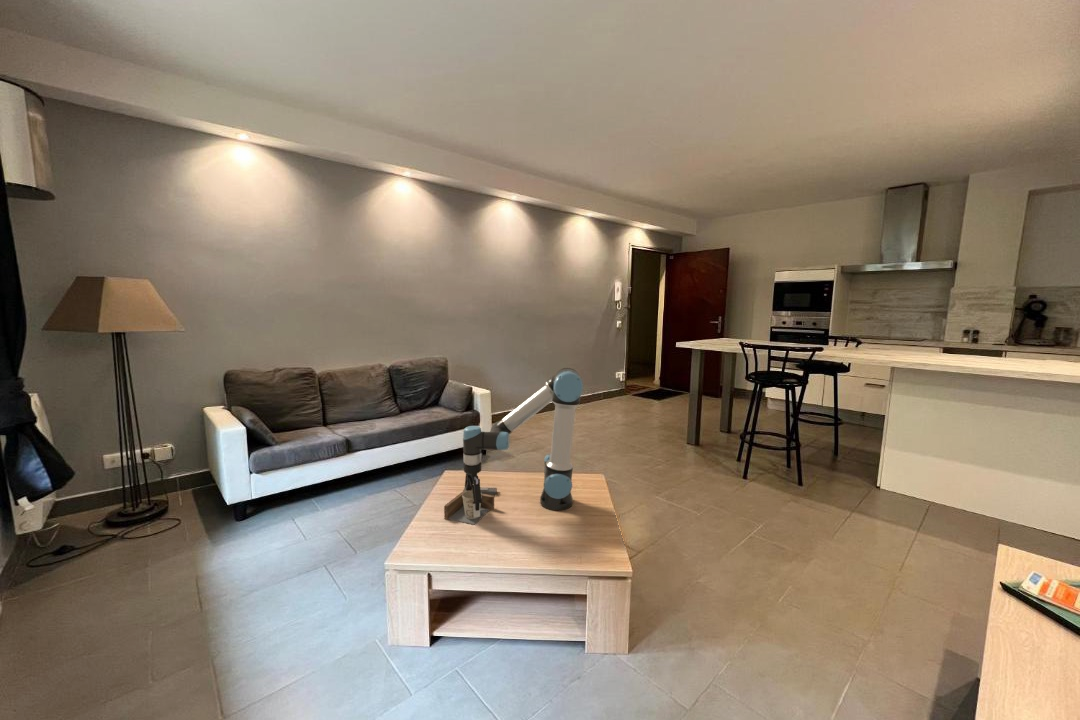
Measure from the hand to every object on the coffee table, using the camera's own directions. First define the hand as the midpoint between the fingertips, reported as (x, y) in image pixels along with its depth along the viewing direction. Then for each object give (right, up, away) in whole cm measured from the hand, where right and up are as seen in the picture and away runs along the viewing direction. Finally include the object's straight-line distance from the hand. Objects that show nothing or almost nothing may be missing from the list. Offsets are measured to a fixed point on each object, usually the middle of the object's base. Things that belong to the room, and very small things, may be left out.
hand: (473, 510), depth 185 cm
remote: (0, 0, +23) cm, 23 cm away
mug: (0, -2, +1) cm, 2 cm away
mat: (-2, -2, +2) cm, 3 cm away
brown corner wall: (-2, -2, +2) cm, 3 cm away
